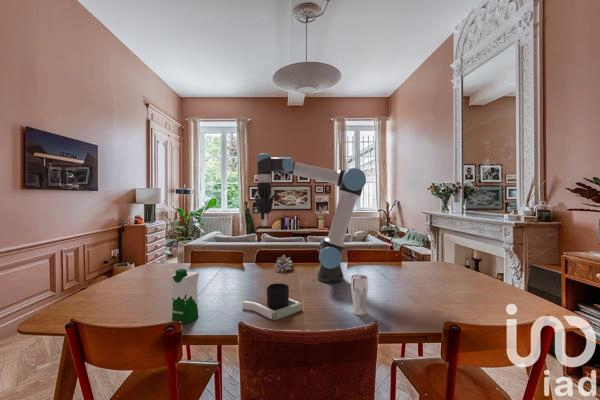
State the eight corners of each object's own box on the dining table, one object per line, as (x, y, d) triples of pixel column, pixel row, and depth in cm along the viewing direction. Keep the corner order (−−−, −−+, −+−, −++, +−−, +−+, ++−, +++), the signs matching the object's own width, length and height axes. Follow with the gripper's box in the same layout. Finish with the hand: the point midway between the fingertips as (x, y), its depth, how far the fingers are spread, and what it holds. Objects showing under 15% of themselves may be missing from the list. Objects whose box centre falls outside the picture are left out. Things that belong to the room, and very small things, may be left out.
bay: (241, 308, 126) (241, 301, 126) (277, 297, 140) (277, 291, 140) (268, 322, 112) (268, 314, 112) (305, 308, 126) (305, 301, 126)
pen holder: (293, 310, 124) (293, 286, 124) (275, 316, 118) (275, 291, 118) (279, 304, 131) (279, 282, 131) (262, 309, 125) (262, 286, 125)
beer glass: (349, 309, 124) (349, 274, 124) (365, 309, 125) (365, 274, 125) (353, 316, 117) (353, 279, 117) (370, 315, 118) (370, 278, 118)
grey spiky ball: (282, 280, 187) (271, 265, 185) (283, 272, 198) (272, 258, 196) (296, 270, 186) (285, 256, 184) (296, 263, 197) (286, 249, 195)
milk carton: (168, 322, 112) (167, 270, 112) (184, 313, 121) (184, 265, 121) (186, 325, 110) (186, 272, 109) (202, 316, 118) (201, 267, 118)
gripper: (269, 182, 167) (269, 224, 167) (250, 182, 158) (250, 225, 158) (277, 182, 161) (278, 225, 162) (258, 181, 152) (258, 226, 153)
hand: (264, 225), depth 160 cm, fingers closed
